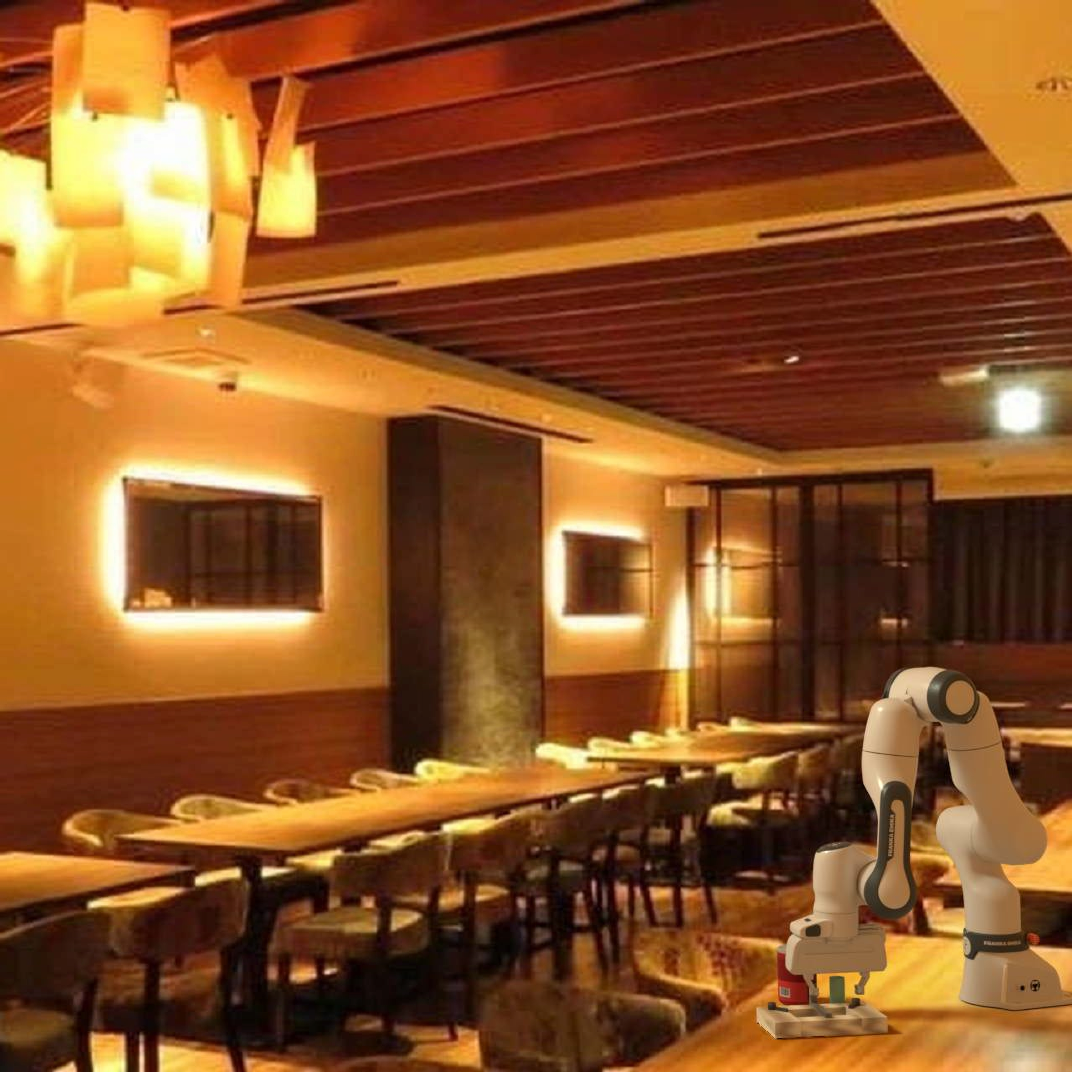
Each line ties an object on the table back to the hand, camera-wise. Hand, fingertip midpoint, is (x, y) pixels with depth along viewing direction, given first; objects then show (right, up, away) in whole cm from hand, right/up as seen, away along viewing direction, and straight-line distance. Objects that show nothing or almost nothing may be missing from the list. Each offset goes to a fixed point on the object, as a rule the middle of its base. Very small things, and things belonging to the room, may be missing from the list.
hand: (836, 995), depth 310 cm
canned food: (-6, -4, +9) cm, 12 cm away
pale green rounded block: (0, -4, 0) cm, 4 cm away
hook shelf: (-5, -3, -11) cm, 13 cm away
